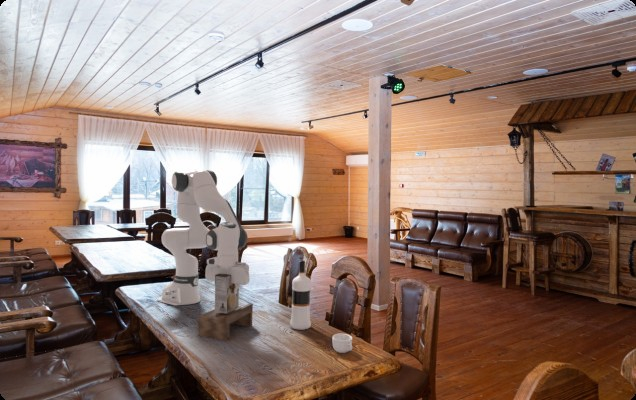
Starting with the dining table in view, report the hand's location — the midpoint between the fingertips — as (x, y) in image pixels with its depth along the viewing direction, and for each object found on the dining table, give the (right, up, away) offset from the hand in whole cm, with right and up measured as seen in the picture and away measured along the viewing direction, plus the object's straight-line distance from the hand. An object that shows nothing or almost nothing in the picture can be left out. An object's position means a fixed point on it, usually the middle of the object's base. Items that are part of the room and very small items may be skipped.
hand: (226, 292), depth 181 cm
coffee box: (0, -8, 0) cm, 8 cm away
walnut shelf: (0, -17, +1) cm, 17 cm away
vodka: (+31, -17, +8) cm, 37 cm away
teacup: (+49, -19, -18) cm, 56 cm away
